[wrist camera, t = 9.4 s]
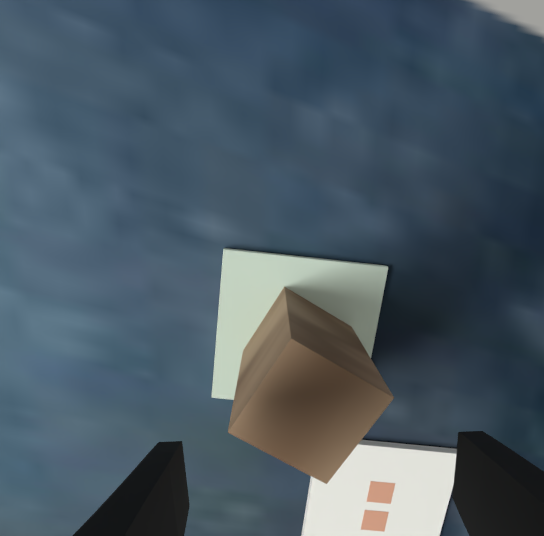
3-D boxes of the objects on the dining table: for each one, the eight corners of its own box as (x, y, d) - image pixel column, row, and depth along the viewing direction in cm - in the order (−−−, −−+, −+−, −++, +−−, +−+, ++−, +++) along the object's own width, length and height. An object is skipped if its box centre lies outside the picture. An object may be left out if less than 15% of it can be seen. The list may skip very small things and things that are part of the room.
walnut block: (351, 326, 17) (393, 397, 11) (308, 387, 18) (326, 484, 12) (284, 286, 16) (291, 338, 11) (242, 350, 17) (227, 432, 11)
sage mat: (385, 265, 17) (388, 267, 16) (358, 407, 18) (360, 412, 18) (224, 247, 16) (223, 249, 16) (212, 393, 18) (211, 397, 18)
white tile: (457, 448, 19) (462, 454, 18) (428, 559, 21) (431, 566, 20) (317, 435, 19) (318, 440, 18) (299, 547, 20) (299, 555, 20)
